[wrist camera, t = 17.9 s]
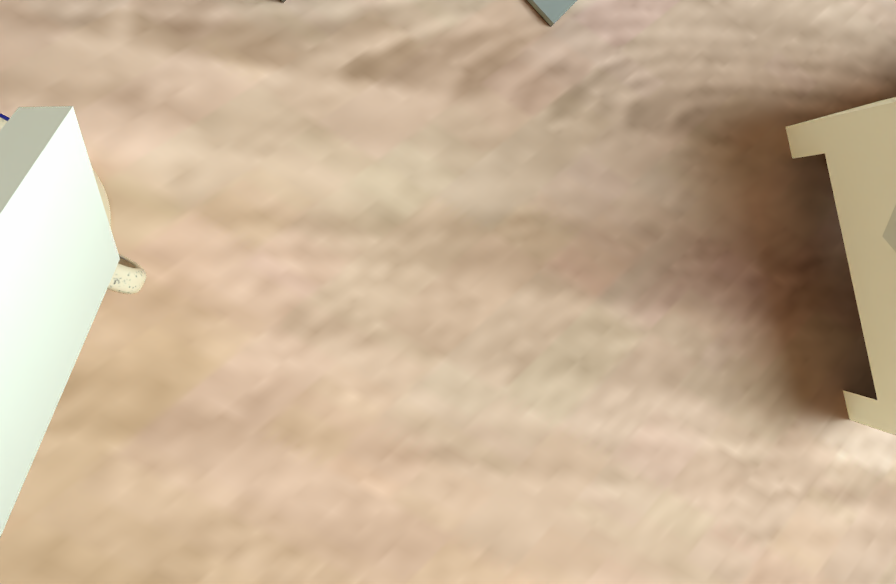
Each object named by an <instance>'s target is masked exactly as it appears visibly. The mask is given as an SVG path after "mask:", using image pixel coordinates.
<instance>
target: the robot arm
mask: <svg viewBox="0 0 896 584" xmlns="http://www.w3.org/2000/svg"><path fill="white" fill-rule="evenodd" d="M882 237H883V238H884V239H885V240H886V241H887V242H888V244H889V245H890V246H891V247H892V248H893V250H894V251H895V252H896V205H895V207H894V210H893V212H892V214H891V217H890V219H889V221H888V224H887V226H886V228H885V231H884V233H883V236H882ZM119 260H120V257H119V254H118V251H117V248H116V244H115V241H114V238H113V235H112V231H111V228H110V225H109V222H108V218H107V215H106V212H105V209H104V206H103V202H102V199H101V196H100V193H99V189H98V186H97V183H96V180H95V177H94V173H93V170H92V167H91V164H90V160H89V157H88V154H87V151H86V147H85V144H84V141H83V138H82V135H81V131H80V128H79V125H78V122H77V118H76V115H75V112H74V109H73V106H60V107H18V109H17V110H16V111H15V113H14V114H13V115H12V116H11V118H10V119H9V120H8V121H7V123H6V124H5V125H4V126H3V128H2V129H1V130H0V537H1V534H2V532H3V530H4V527H5V525H6V523H7V520H8V518H9V516H10V514H11V511H12V509H13V507H14V504H15V502H16V500H17V497H18V495H19V493H20V490H21V488H22V486H23V483H24V481H25V479H26V476H27V474H28V472H29V469H30V467H31V465H32V462H33V460H34V458H35V455H36V453H37V451H38V448H39V446H40V444H41V441H42V439H43V437H44V434H45V432H46V430H47V427H48V425H49V423H50V420H51V418H52V416H53V414H54V411H55V409H56V407H57V404H58V402H59V400H60V397H61V395H62V393H63V390H64V388H65V386H66V383H67V381H68V379H69V376H70V374H71V372H72V369H73V367H74V365H75V362H76V360H77V358H78V355H79V353H80V351H81V348H82V346H83V344H84V341H85V339H86V337H87V334H88V332H89V330H90V327H91V325H92V323H93V320H94V318H95V316H96V313H97V311H98V309H99V307H100V304H101V302H102V300H103V297H104V295H105V293H106V290H107V288H108V286H109V283H110V281H111V279H112V276H113V274H114V272H115V269H116V267H117V265H118V262H119Z"/></svg>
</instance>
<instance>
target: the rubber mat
mask: <svg viewBox="0 0 896 584" xmlns="http://www.w3.org/2000/svg"><path fill="white" fill-rule="evenodd" d="M527 1H528V2H529V3H530V4H531V5H532V6H533V7H534V9H535V10H536V11H537V12H538V13H539V14H540V15H541V16H542V17H543V18H544V20H545V21H546V22H547V23H548V24H549V25H550V26H552V25H553V24H554V23H555V22H556V21H557V20H558V19H559V18H560V17H561V16H562V15H563V14H564V13H565V12H566V11H567V10H568V9H569V8H570V7H571V6H572V5H573V4H574V3H575V2H576V1H577V0H527Z"/></svg>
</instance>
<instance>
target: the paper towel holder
mask: <svg viewBox="0 0 896 584" xmlns="http://www.w3.org/2000/svg"><path fill="white" fill-rule="evenodd" d="M786 132H787V136H788V141H789V145H790V150H791V155H792V159H793V158H799V157H805V156H812V155H818V154H824V153H825V157H826V161H827V166H828V171H829V175H830V180H831V185H832V190H833V194H834V199H835V204H836V208H837V213H838V218H839V222H840V227H841V232H842V236H843V241H844V246H845V250H846V255H847V260H848V265H849V269H850V274H851V279H852V283H853V288H854V293H855V297H856V302H857V307H858V311H859V316H860V321H861V325H862V330H863V335H864V340H865V344H866V349H867V354H868V358H869V363H870V368H871V372H872V377H873V382H874V386H875V391H876V396H877V400H875V399H872V398H868V397H865V396H861V395H858V394H854V393H851V392H847V391H844V390H843V393H844V397H845V402H846V406H847V411H848V416H849V420H852V421H855V422H858V423H861V424H864V425H867V426H870V427H873V428H876V429H879V430H882V431H884V432H887V433H890V434H893V435H896V252H895V251H894V250H893V248H892V247H891V246H890V245H889V244H888V242H887V241H886V240H885V239H884V238H883V237H882V236H883V233H884V231H885V228H886V226H887V224H888V221H889V219H890V217H891V214H892V212H893V210H894V207H895V205H896V97H894V98H889V99H885V100H881V101H877V102H874V103H870V104H866V105H863V106H859V107H856V108H852V109H848V110H845V111H841V112H838V113H834V114H830V115H827V116H823V117H819V118H816V119H812V120H809V121H805V122H801V123H798V124H794V125H791V126H787V127H786Z"/></svg>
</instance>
